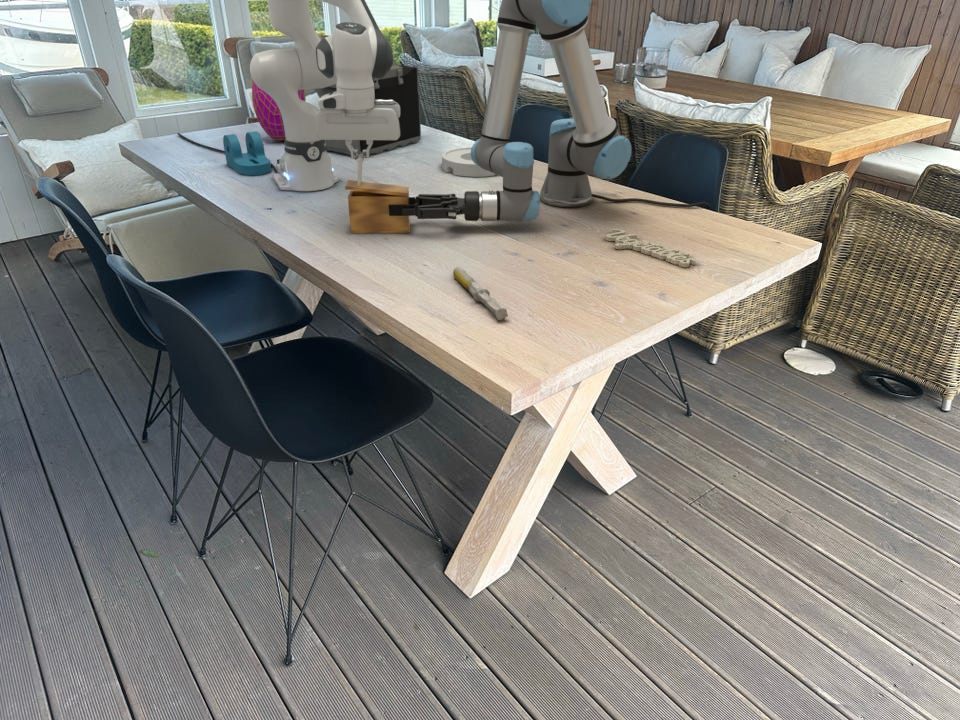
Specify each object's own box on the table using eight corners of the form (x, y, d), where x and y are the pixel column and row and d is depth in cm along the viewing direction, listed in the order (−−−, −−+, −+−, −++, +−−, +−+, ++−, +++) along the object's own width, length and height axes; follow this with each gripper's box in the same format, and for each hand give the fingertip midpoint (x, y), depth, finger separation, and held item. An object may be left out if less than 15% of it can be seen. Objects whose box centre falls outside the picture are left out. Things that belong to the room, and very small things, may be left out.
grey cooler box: (383, 133, 276) (378, 52, 261) (425, 141, 265) (422, 56, 250) (314, 150, 251) (304, 61, 235) (358, 160, 240) (350, 67, 224)
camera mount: (227, 164, 233) (221, 132, 227) (257, 160, 238) (252, 129, 233) (244, 176, 220) (239, 143, 215) (276, 172, 225) (271, 139, 220)
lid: (345, 189, 172) (346, 157, 168) (347, 183, 176) (348, 151, 172) (407, 196, 173) (409, 164, 169) (408, 190, 178) (410, 158, 174)
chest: (351, 233, 177) (347, 196, 173) (353, 226, 182) (350, 190, 177) (409, 232, 178) (407, 196, 173) (410, 225, 183) (408, 190, 178)
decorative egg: (293, 132, 276) (283, 50, 261) (319, 140, 264) (310, 56, 249) (249, 139, 265) (236, 54, 250) (273, 148, 253) (261, 60, 238)
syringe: (449, 274, 155) (449, 263, 153) (465, 272, 156) (464, 260, 154) (490, 323, 135) (491, 310, 133) (508, 319, 136) (508, 307, 134)
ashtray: (444, 158, 243) (444, 146, 241) (509, 159, 243) (510, 147, 241) (439, 176, 224) (438, 163, 222) (510, 177, 223) (510, 165, 221)
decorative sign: (591, 236, 174) (616, 227, 180) (591, 240, 174) (616, 231, 180) (679, 267, 157) (703, 256, 163) (678, 271, 158) (703, 260, 163)
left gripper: (400, 97, 166) (403, 154, 174) (315, 96, 166) (321, 154, 173) (399, 102, 161) (401, 161, 168) (311, 101, 160) (317, 160, 167)
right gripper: (478, 181, 184) (391, 181, 183) (481, 203, 168) (386, 203, 167) (477, 208, 188) (392, 209, 187) (481, 232, 172) (388, 232, 171)
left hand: (360, 157), depth 170 cm, fingers closed on lid
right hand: (390, 206), depth 177 cm, fingers closed on chest, 5 cm apart
